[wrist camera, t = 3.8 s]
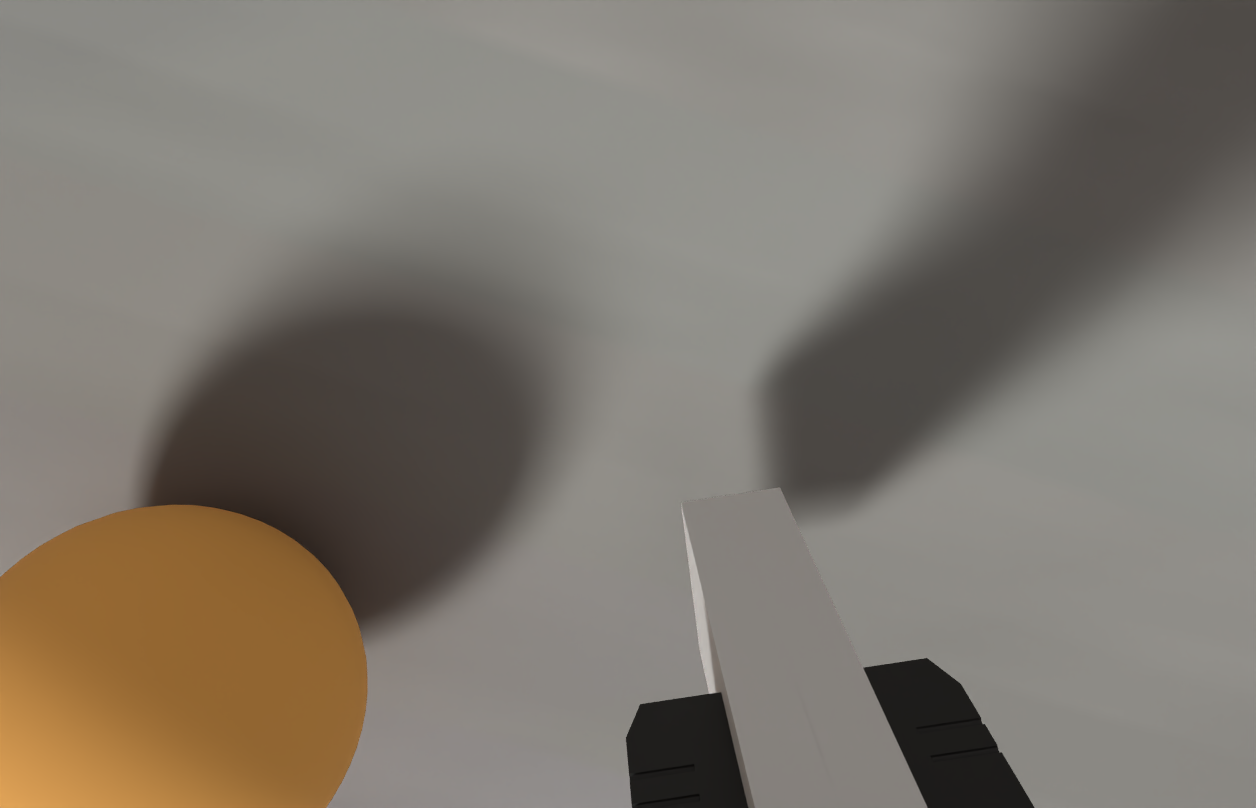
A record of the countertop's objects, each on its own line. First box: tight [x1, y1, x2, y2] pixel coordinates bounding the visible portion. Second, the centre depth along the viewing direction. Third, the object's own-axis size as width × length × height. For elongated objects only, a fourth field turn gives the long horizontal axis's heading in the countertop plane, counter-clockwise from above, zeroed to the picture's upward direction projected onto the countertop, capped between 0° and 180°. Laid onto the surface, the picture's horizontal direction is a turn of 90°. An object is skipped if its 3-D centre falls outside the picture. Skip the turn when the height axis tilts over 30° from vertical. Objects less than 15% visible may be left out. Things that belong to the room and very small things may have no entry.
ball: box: [0, 505, 367, 808], centre depth 13 cm, size 6×6×6 cm
